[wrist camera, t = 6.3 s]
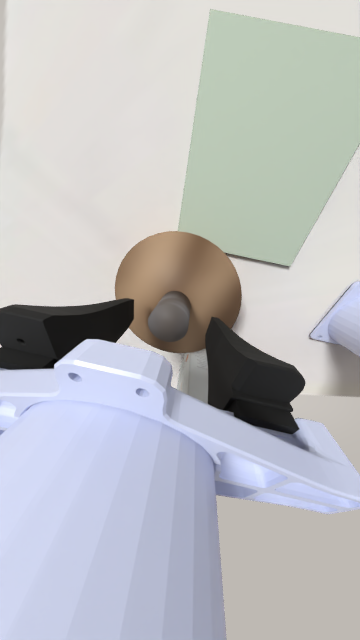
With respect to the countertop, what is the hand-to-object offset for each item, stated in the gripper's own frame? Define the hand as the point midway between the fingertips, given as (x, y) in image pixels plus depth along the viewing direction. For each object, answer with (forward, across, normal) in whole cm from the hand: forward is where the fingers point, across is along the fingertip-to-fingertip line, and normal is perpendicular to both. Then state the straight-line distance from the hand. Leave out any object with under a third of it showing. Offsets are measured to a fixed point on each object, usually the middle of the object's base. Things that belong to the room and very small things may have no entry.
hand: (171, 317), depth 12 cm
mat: (+7, -5, -12) cm, 15 cm away
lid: (+4, 0, 0) cm, 4 cm away
